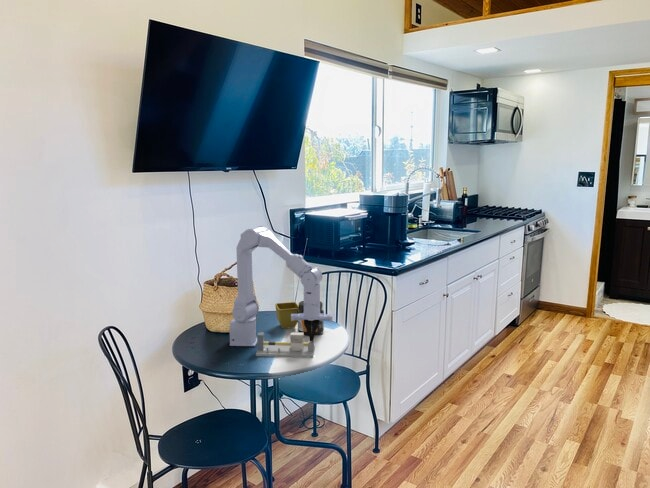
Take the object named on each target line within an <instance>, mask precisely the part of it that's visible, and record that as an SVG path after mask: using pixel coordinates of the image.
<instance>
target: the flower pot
mask: <svg viewBox="0 0 650 488" xmlns="http://www.w3.org/2000/svg"><path fill="white" fill-rule="evenodd" d="M298 310H299V304H298V303H297V302H296V301H291V302H288V301H287V302H277V303H275V313H276V318H277V321H278V323H279V325H280V326H281V328H282V329H294V328H296V327H297V326H298V320H294V321H291V314H297V311H298Z"/></svg>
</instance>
